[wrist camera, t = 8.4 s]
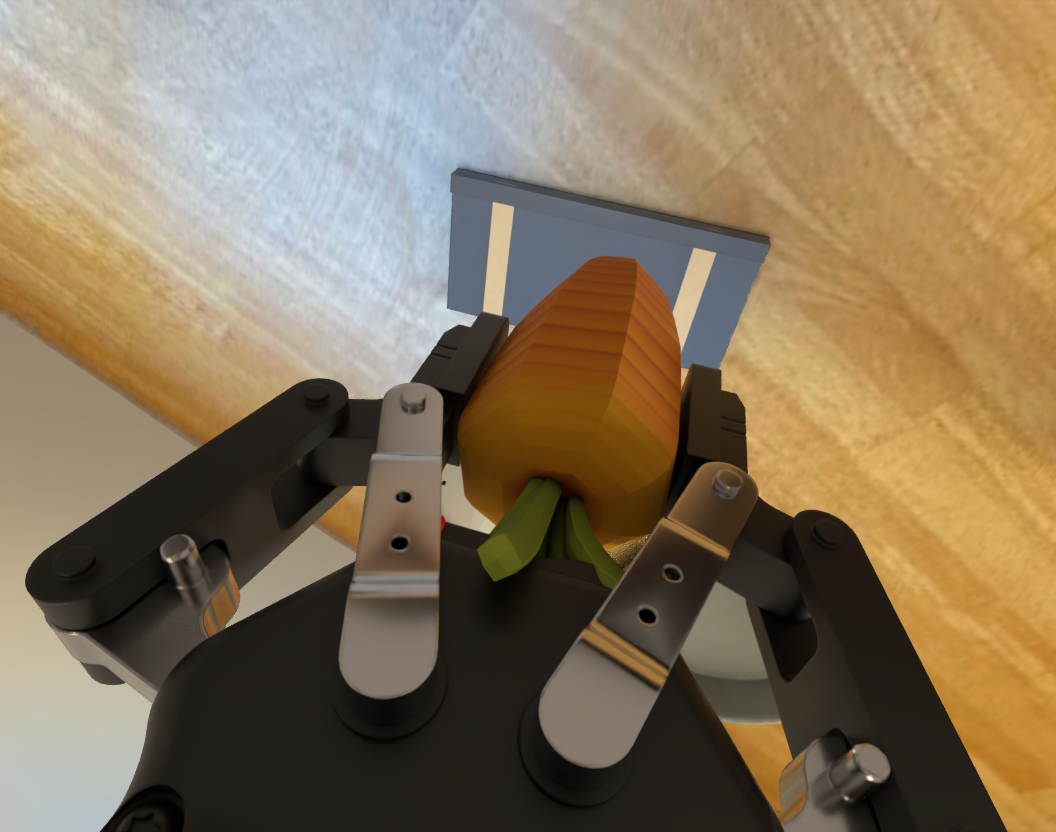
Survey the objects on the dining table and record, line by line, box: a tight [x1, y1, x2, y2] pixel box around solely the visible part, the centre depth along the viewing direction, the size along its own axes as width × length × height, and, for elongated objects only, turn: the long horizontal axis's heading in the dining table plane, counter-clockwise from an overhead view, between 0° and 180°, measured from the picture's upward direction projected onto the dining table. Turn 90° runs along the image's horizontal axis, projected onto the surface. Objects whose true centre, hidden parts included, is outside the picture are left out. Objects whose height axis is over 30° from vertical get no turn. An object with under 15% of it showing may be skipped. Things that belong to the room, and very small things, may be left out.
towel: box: [447, 168, 770, 369], centre depth 40 cm, size 10×20×1 cm, turn 83°
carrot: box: [457, 256, 681, 590], centre depth 15 cm, size 5×5×15 cm
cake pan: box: [623, 563, 782, 724], centre depth 58 cm, size 25×25×4 cm
